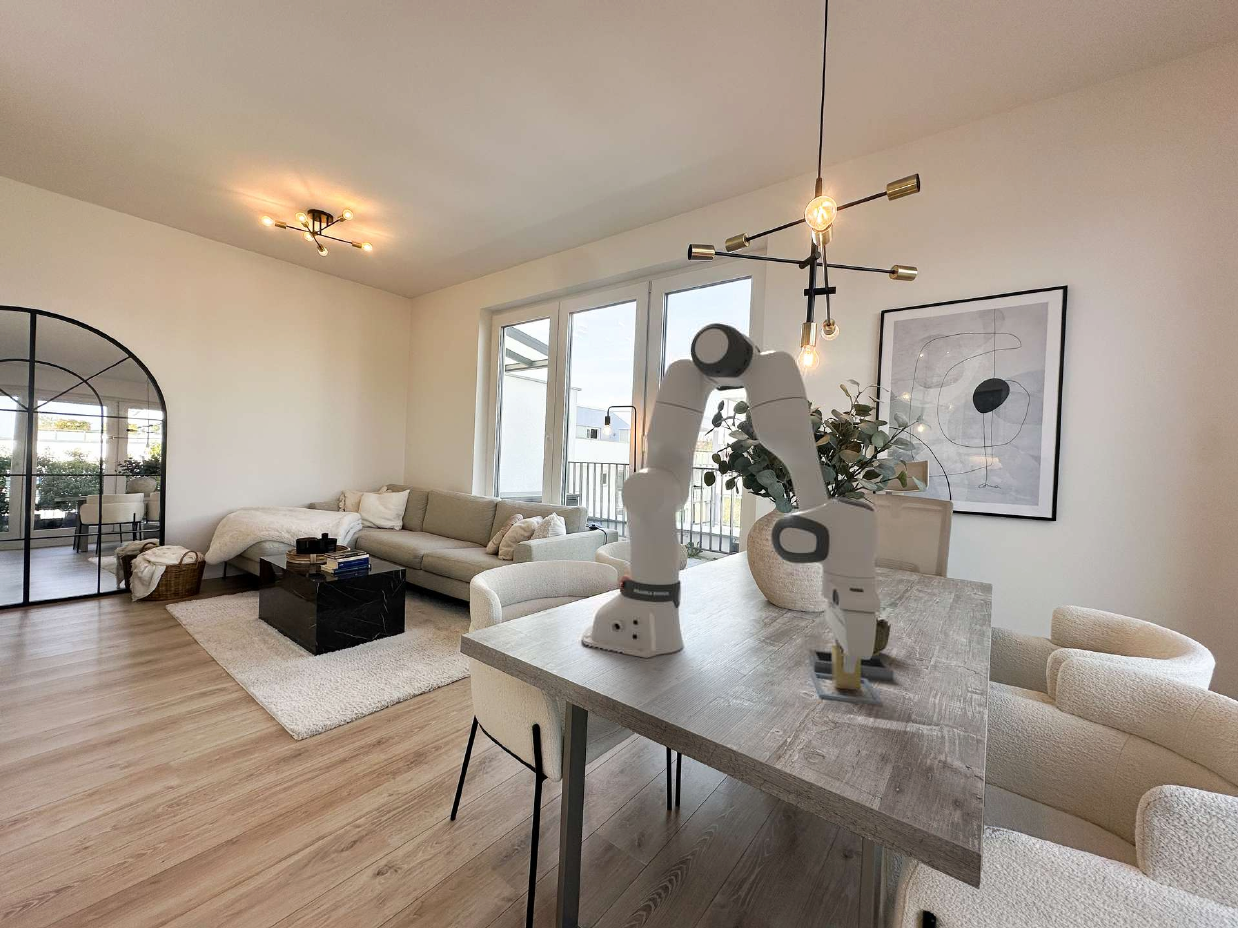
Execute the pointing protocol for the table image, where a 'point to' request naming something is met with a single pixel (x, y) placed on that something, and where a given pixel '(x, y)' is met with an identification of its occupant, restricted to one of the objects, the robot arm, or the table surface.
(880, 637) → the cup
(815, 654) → the grey open box
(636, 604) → the robot arm
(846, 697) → the blue-grey flat square frame
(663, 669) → the table surface
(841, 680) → the yellow upright block
